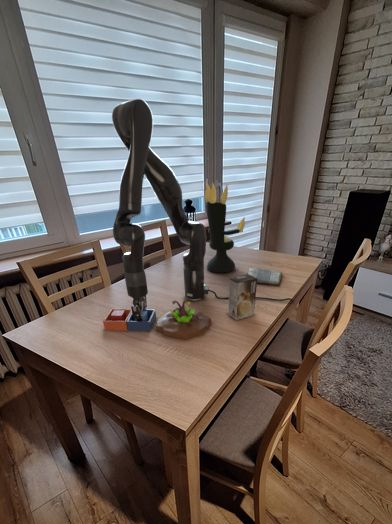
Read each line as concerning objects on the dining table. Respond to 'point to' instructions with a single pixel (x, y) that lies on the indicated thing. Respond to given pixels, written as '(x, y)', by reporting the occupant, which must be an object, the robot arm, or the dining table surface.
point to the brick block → (118, 315)
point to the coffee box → (242, 296)
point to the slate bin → (142, 322)
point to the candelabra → (219, 231)
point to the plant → (183, 322)
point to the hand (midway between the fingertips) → (142, 322)
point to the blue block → (144, 316)
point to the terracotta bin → (116, 324)
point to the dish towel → (266, 276)
